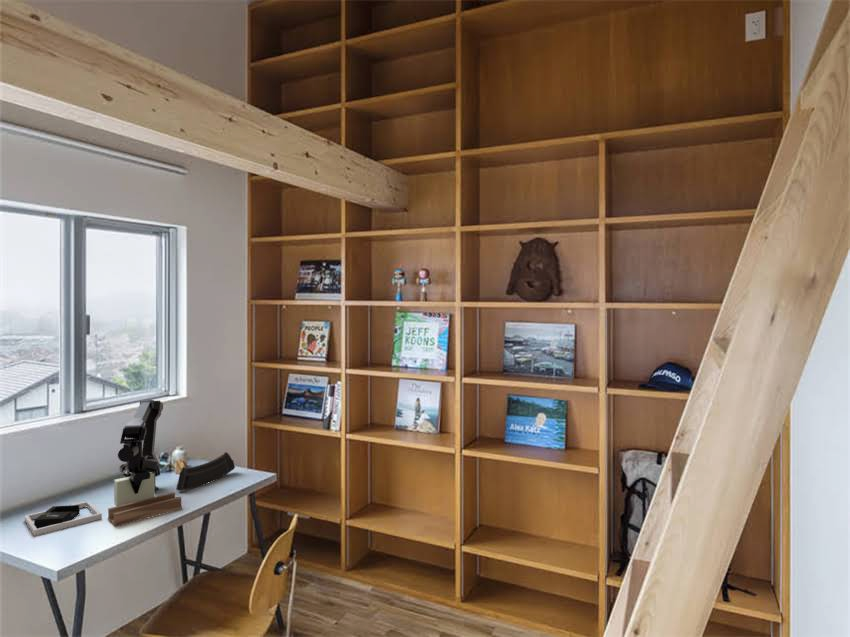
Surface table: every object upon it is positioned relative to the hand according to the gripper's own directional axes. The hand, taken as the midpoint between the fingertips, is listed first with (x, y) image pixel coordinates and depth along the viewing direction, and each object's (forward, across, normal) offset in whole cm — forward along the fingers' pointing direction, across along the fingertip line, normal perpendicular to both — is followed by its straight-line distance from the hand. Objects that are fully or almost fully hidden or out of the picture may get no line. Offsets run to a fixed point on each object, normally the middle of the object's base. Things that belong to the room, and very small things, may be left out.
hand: (134, 492), depth 214 cm
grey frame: (+5, +3, +24) cm, 25 cm away
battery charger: (+6, +3, +26) cm, 27 cm away
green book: (+4, 0, 0) cm, 4 cm away
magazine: (+6, +6, -32) cm, 33 cm away
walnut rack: (+5, -13, 0) cm, 14 cm away
